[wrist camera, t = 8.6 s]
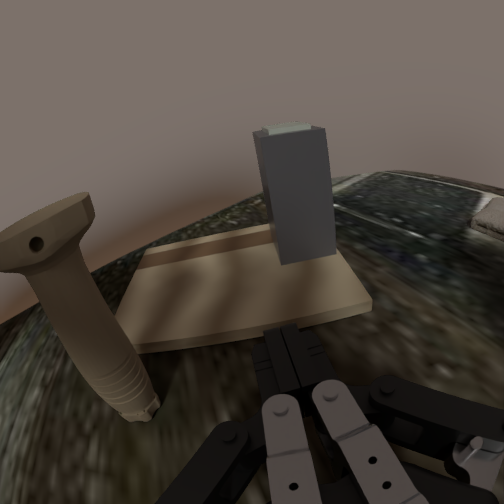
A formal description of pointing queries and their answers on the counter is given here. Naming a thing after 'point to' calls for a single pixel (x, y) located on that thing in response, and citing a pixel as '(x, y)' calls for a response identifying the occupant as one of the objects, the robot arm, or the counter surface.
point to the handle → (78, 303)
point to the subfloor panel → (231, 292)
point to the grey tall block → (297, 190)
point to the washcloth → (491, 219)
